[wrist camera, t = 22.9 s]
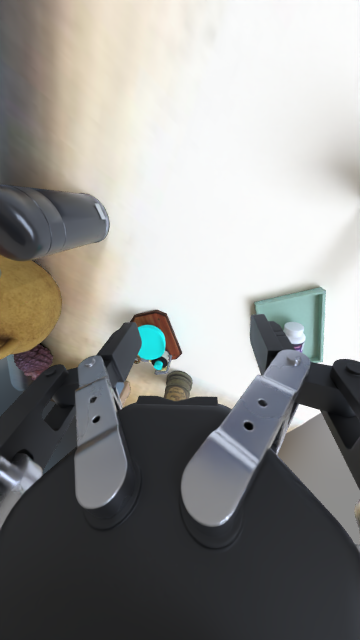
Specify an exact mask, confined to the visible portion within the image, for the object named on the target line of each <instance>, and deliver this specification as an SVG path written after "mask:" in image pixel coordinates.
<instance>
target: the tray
mask: <svg viewBox="0 0 360 640" xmlns="http://www.w3.org/2000/svg"><path fill="white" fill-rule="evenodd" d="M325 297H326V290H324V289H323V288H321V287H320V288H315V289H311V290H306V291H302V292H297V293H293V294H289V295H284V296H280V297H275V298H271V299H266V300H262V301H257V302H254V304H255V310H256V314H265V316H266V318H267V320H268V321H274V322H276V323H277V324H279V325H280V326H281V328H282V329H283V330H284V325H285V324H286V323H288V322H297V323H300V324H302V325H303V326H304V331H303V333H304V335H305V343H304V347H303V351H302V353H303V354H305V355H306V356H307V357H308V358H309V359H310V361H311V362H314V363H319V362H323V342H324V319H325Z"/></svg>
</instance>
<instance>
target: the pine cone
mask: <svg viewBox="0 0 360 640" xmlns="http://www.w3.org/2000/svg"><path fill="white" fill-rule="evenodd" d="M52 358H53V356H52V355H51V354H50V351H49V350H47V348H43V346H42V345H40V344H38V345H37V346H35V347H34V348H32V349H31V350H29V351H25V352H21V353H17V354H14V360H15V361H14V362H15V363H16V366H18V368H19V369H21V370H22V371H24V373H25V375H26V376H28V375H31V376H32V377H31V379H32V380H35V379H36V378H37V377H38V376H39V375H40V374H41V373H42V372H43V371H45V370H46V369H48V368H49V366H51V364H52V360H53V359H52Z"/></svg>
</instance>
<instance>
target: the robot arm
mask: <svg viewBox="0 0 360 640" xmlns="http://www.w3.org/2000/svg"><path fill="white" fill-rule="evenodd" d="M108 231H109V218H108V215H107V212H106V210H105V208H104V206H103V205H102V204H101V203H100V202H99V201H98V200H97V199H96V198H95V197H93V196H91V195H89V194H83V193H71V192H62V191H54V190H45V189H37V188H28V187H19V186H10V185H1V184H0V255H1V256H3V257H5V258H8V259H10V260H14V261H31V260H35V259H38V258H41V257H45V256H48V255H52V254H55V253H58V252H62V251H65V250H69V249H73V248H76V247H80V246H83V245H87V244H91V243H96V242H99V241H102V240H103V239H104V238H105V237H106V236H107V234H108ZM0 277H1V269H0ZM250 342H251V345H252V348H253V351H254V354H255V357H256V360H257V363H258V367H259V370H260V373H261V375H257V376H256V377H255V379H254V380H253V381H252V383H251V384H250V385H249V387H248V388H247V389H246V391H245V392H244V394H243V395H242V396H241V398H240V399H239V400H238V402H237V403H236V405H235V406H234V407H233V409H230V408H228V407H226V406H224V405H221V404H218V401H217V397H193V398H188V399H184V400H179V401H173V400H170V399H166V398H162V397H159V396H139V397H138V400H137V402H136V403H133V404H130V405H128V406H126V407H124V408H123V406H122V403H121V400H120V397H119V394H118V391H117V388H116V384H117V382H125V380H126V378H127V376H128V374H129V372H130V370H131V368H132V365H133V363H134V361H135V359H136V357H137V355H138V353H139V351H140V349H141V346H142V340H141V336H140V333H139V330H138V327H137V324H136V323H135V322H128V323H124V324H123V325H122V327H121V328H120V329H119V330H117V331H116V332H114V333H113V334H112V335H111V337H110V338H109V340H108V341H107V342H106V343H105V344H104V346H103V347H102V348H101V350H100V351H99V352H98V354H97V355H96V356H91V357H88V358H86V359H85V360H83V361H82V362H81V363H80V364H79V366H78V367H77V368H73V369H70V370H66V368H65V366H64V365H61V364H58V365H54V366H52V367H49V368H48V369H46V370H45V371H43V372H42V373H41V374H40V375H39V376H38V377H37V378H36V379H35V380H34V382H33V383H32V384H31V385H30V386H29V387H28V388H27V389H26V390H25V391H24V392H23V393H22V394H21V395H20V396H19V397H18V398H17V400H16V401H15V402H14V403H13V404H12V405H11V406H10V407H9V408H8V409H7V410H6V411H5V412H4V413H3V414H2V415H1V417H0V640H360V542H359V545H358V544H354V542H353V541H352V539H351V538H350V536H349V535H348V533H347V532H346V531H345V529H344V528H343V527H342V525H341V524H340V523H339V522H338V521H337V520H336V519H335V517H333V515H332V514H331V513H330V512H329V511H328V510H327V509H326V508H325V507H324V505H322V503H321V502H320V501H319V500H318V499H317V498H316V497H315V496H314V495H313V494H312V492H310V490H309V489H308V488H307V487H306V486H305V485H304V484H303V483H302V482H301V481H300V479H299V478H298V477H297V476H296V475H295V474H294V473H293V472H292V471H291V470H290V469H289V468H288V467H287V465H286V464H285V463H284V462H283V461H282V460H281V459H280V458H279V457H278V456H277V454H278V452H279V450H280V448H281V445H282V442H283V440H284V437H285V434H286V432H287V430H288V427H289V425H290V423H291V421H292V418H293V416H294V414H295V412H296V410H297V407H298V405H299V404H301V405H305V406H309V407H312V408H316V409H319V410H320V411H321V413H322V414H323V416H324V419H325V421H326V423H327V425H328V427H329V429H330V431H331V433H332V435H333V437H334V439H335V441H336V443H337V445H338V447H339V449H340V451H341V453H342V455H343V457H344V459H345V461H346V463H347V465H348V467H349V469H350V471H351V473H352V475H353V477H354V479H355V481H356V484H357V486H358V488H359V489H360V362H358V361H355V360H350V359H339V360H337V361H335V362H334V364H333V366H329V365H323V364H318V363H314V362H311V361H310V359H309V358H308V357H307V356H306V355H305V354H303V353H301V352H299V351H296V350H295V348H294V347H293V345H292V343H291V342H290V340H289V339H288V337H287V336H286V334H285V332H283V329H282V328H281V326H280V325H279V324H277V323H276V322H274V321H268V320H267V318H266V316H265V314H255V315H251V324H250ZM51 398H53V400H54V401H55V402H56V404H55V405H54V407H53V408H52V410H51V411H50V412H49V414H48V415H47V416H46V418H45V419H44V420H43V418H42V411H43V409H44V407H45V406H46V405H47V404H48V402H49V401H50V400H51ZM75 415H76V425H77V444H78V446H77V447H75V448H74V449H73V450H72V451H71V452H70V453H69V454H67V455H66V456H65V457H64V458H63V459H61V460H60V461H59V462H58V463H57V464H56V465H55V466H53V467H52V468H51V469H50V470H49V471H47V472H46V473H45V474H44V475H43V476H42V471H43V470H44V468H45V466H46V464H47V463H48V461H49V459H50V458H51V456H52V454H53V452H54V451H55V449H56V447H57V446H58V444H59V442H60V440H61V439H62V437H63V435H64V434H65V432H66V430H67V428H68V427H69V425H70V423H71V422H72V420H73V418H74V416H75ZM355 517H356V521H357V524H358V527H359V531H360V500H359V501H358V502H357V503H356V505H355Z"/></svg>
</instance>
